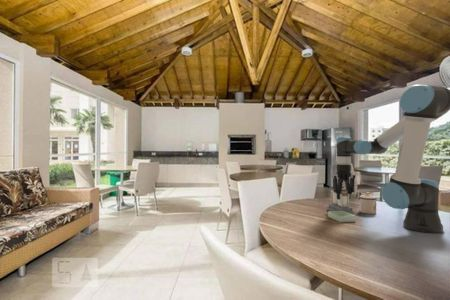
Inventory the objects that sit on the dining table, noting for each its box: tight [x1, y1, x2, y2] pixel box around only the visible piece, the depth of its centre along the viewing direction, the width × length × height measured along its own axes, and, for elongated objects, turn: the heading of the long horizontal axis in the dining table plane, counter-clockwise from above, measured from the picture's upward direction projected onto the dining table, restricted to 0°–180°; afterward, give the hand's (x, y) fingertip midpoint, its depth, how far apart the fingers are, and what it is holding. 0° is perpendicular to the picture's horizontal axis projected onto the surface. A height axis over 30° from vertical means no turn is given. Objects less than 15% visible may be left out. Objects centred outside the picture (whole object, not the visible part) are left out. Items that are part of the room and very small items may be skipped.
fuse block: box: [326, 202, 355, 215], centre depth 158 cm, size 14×8×4 cm, turn 9°
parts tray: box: [327, 210, 357, 223], centre depth 143 cm, size 11×9×3 cm
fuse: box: [332, 191, 338, 205], centre depth 162 cm, size 4×4×12 cm
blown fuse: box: [340, 188, 348, 208], centre depth 155 cm, size 4×4×12 cm
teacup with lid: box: [359, 191, 377, 215], centre depth 160 cm, size 12×9×12 cm
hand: (343, 204), depth 155 cm, fingers closed on blown fuse, 4 cm apart
